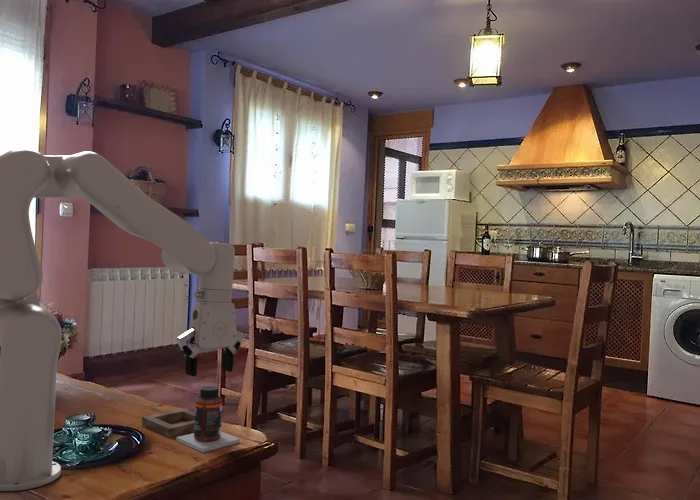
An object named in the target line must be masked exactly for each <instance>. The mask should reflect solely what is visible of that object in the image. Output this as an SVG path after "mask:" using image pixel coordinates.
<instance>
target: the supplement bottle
mask: <svg viewBox="0 0 700 500" xmlns="http://www.w3.org/2000/svg"><path fill="white" fill-rule="evenodd" d="M219 389H220V388H219V387H218V386H213V385H206V386H202V387H200V392H199V394H200V395H199V396H198V397H197V398H196V399H195V404H194V406H195V407H194V412H195V423H194V432H193V433H194V438H195V439H196V440H199V441H214V440H217V439H219V438H220V436H221V431H222V417H223V416H222V414H223V398H222V397H221V396H219Z"/></svg>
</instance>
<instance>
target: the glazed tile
mask: <svg viewBox="0 0 700 500" xmlns="http://www.w3.org/2000/svg"><path fill="white" fill-rule="evenodd" d="M175 437H176V442H178V443H180V444H183V445H185V446H188V447H189V448H192V449H194V450H196V451H199V452H200V453H206V452H210V451H212V450H213V451H214V450H216V449H219V448H220V449H221V448H224V447H228V446H231V445H235V444H239V443H241V438H239V437H236V436H234V435H231V434H229V433H226V432H224V431H222V430H221V436H220V438H219V439H217V440H214V441H199V440H196V439H195V438H194V432H191V433H189V434H188V433H187V434H183V435H178V436H175Z"/></svg>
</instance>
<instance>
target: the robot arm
mask: <svg viewBox="0 0 700 500" xmlns="http://www.w3.org/2000/svg"><path fill="white" fill-rule="evenodd" d="M77 197H81V198H83V199H84V200H85V201H87V202H88V203H89V204H90V205H92V206H93V207H94V208H95V209H97V210H98V211H99V212H100V213H101V214H103V215H104V216H105V217H106V218H107V219H109V221H111V222H112V223H113V224H114V225H116V226H117V227H118V228H119V229H121V230H123V231H125V232H127V233H128V234H130V235H133V236H135V237H138V238H140V239H144V240H145V241H148V242H150V243H152V244H154V245H156V246H157V247H159V249H162V251H161V260H162V263H163V264H164V266H165V267H166V268H167V269H169V270H170V271H172V272H175V273H177V274H185V275H186V274H189V275H194V276H198V284H197V285H198V286H197V291H194V292H193V298H195V299H196V301H197V302H194V305H193V309H192V313H191V317H190V322H189V330H187V331H185V332H184V333H182V334H181V335H179V336H178V337H177V338H176V342H177V344H178V346H179V350H180V352H181V353H183V356H184V357H185V367H184V368H185V369H184V370H185V375H188V376H191V377H196V376H198V375H197V373H198V357H197V355H198V353H199V352H200V351H201V350H212V349H213V350H215V349H223V350H224V352H222V357H221V358H222V360H221V369H222V370H223V371H225V372H229V373H231V372H233V368H234V367H233V366H234V356H235V355H236V354H237V351H238V349H240V348H239V347H240V346H241V343H242V341H243V340H244V337H245V334H244V333H243V332H241V331H239V330H238V329H237V315H236V307H235V306H236V305H235V303H233V302H232V298H233V297H232V296H233V295H232V294H233V284H234V282H233V281H234V270H235V269H234V267H235V253H236V252H235V251H236V250H235V246H234V245H233V244H231V243H228V242H227V243H226V242H218V241H209V240H208V239H207V238H205V236H203V234H201V232H199V231H198V230H197V229H196V228H195V227H194V226H192V225H191V224H190V223H189V222H187V221H186V220H185V219H183V218H182V217H180V216H179V215H177V214H175V213H174V212H173V211H171V210H169V209H168V208H166V206H163V205H162V204H160V203H159V202H157V201H155V200H154V199H153V198H151V197H149V195H147V194H146V193H145V192H144V191H143V190H142V189H140V187H138V186H137V185H136V184H135V183H133V181H131V180H130V179H129V178H128V177H126V175H125V174H123V173H122V172H121V171H120V170H119V169H118V168H117V167H115V165H113V164H112V163H111V162H110V161H109V160H108V159H106V158H105V157H104V156H102V155H100V154H99V153H96V152H94V151H81V152H77V153H74V154H71V155H70V154H68V155H44V154H42V153H41V152H39V151H37V150H35V149H32V148H27V147H26V148H25V147H24V148H23V147H21V148H15V149H10V150H9V151H7V152H5V153H3V154H1V155H0V492H18V491H25V490H30V489H35V488H39V487H42V486H44V485H47V484H51V483H52V482H54V481H55V480H57V479H58V478H59V477H60V476H61V474H62V466H61V465H60V464H59V463H58V462H56V461H53V454H54V434H55V433H54V432H55V415H56V414H55V412H56V394H57V393H56V391H57V390H56V387H57V386H56V385H57V371H58V362H59V356H60V351H61V346H62V328H61V325H60V322H59V320H58V318H57V316H55V315H54V314H53V313H52V312H51V311H49V310H48V309H47V308H44V307H42V306H41V302H40V298H39V296H38V295H39V294H38V290H39V289H40V288H41V286H42V282H43V277H44V276H43V275H44V274H43V269H42V268H43V267H42V265H41V261H40V258H39V255H38V252H37V248H36V244H35V240H34V237H33V232H32V228H31V222H30V207H31V204H32V201H33V199H34V198H35V199H37V198H38V199H45V198H46V199H50V198H53V199H54V198H77ZM187 341H188V343H187ZM187 344H189V345H187Z"/></svg>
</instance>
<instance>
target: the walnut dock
mask: <svg viewBox="0 0 700 500" xmlns="http://www.w3.org/2000/svg"><path fill="white" fill-rule="evenodd" d="M180 420H182V421H183V422H179V423H175V424H171V422H176V421H177V422H178V421H180ZM194 423H195V410H194V411H193V410H191V409H188V408H186V407H185V408H179V409H176V410H175V409H174V410H169V411H165V412H160V413H154V414H150V415H144V416H142V417H141V426H143V427H144V428H148V429H149V430H152V431H154V432H156V433H158V434H161V435H163V436H165V437H166V438H173V437H178V436H182V435H187V434H188V433H189V434H191V433H194Z"/></svg>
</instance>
